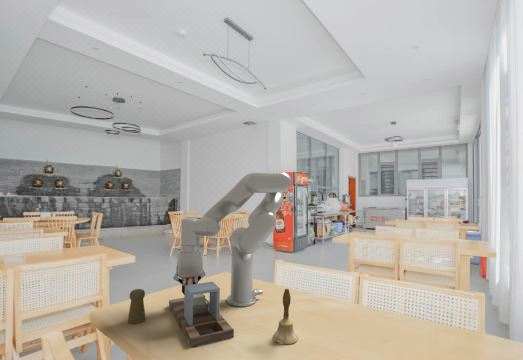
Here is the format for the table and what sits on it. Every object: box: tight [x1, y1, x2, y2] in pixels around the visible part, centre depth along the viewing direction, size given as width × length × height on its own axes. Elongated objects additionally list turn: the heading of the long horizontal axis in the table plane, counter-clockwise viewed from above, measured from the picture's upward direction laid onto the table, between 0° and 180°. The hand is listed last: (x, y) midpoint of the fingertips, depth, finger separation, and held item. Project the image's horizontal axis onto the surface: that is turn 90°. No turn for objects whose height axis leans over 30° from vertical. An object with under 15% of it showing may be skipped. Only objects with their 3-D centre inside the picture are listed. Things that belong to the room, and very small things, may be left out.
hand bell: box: [272, 288, 299, 345], centre depth 97 cm, size 8×8×16 cm
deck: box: [168, 297, 235, 348], centre depth 109 cm, size 35×14×2 cm, turn 28°
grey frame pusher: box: [186, 277, 209, 314], centre depth 115 cm, size 15×7×10 cm, turn 28°
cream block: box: [193, 293, 206, 315], centre depth 111 cm, size 5×5×6 cm
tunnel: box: [183, 281, 221, 326], centre depth 105 cm, size 8×10×11 cm
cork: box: [127, 288, 146, 325], centre depth 108 cm, size 6×6×11 cm
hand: (189, 293), depth 120 cm, fingers closed on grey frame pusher, 3 cm apart
